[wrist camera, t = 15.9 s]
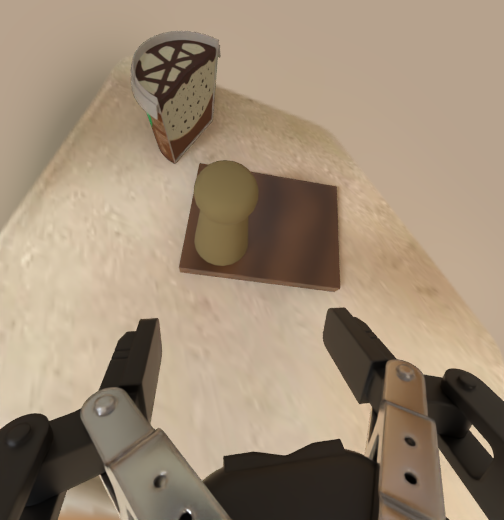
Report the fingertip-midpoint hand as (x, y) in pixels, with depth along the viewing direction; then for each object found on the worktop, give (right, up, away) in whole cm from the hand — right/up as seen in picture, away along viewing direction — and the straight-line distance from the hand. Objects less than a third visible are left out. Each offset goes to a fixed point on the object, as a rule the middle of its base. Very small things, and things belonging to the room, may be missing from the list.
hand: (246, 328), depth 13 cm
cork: (-3, +5, +18) cm, 19 cm away
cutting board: (+2, +7, +21) cm, 22 cm away
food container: (-10, +21, +24) cm, 34 cm away
